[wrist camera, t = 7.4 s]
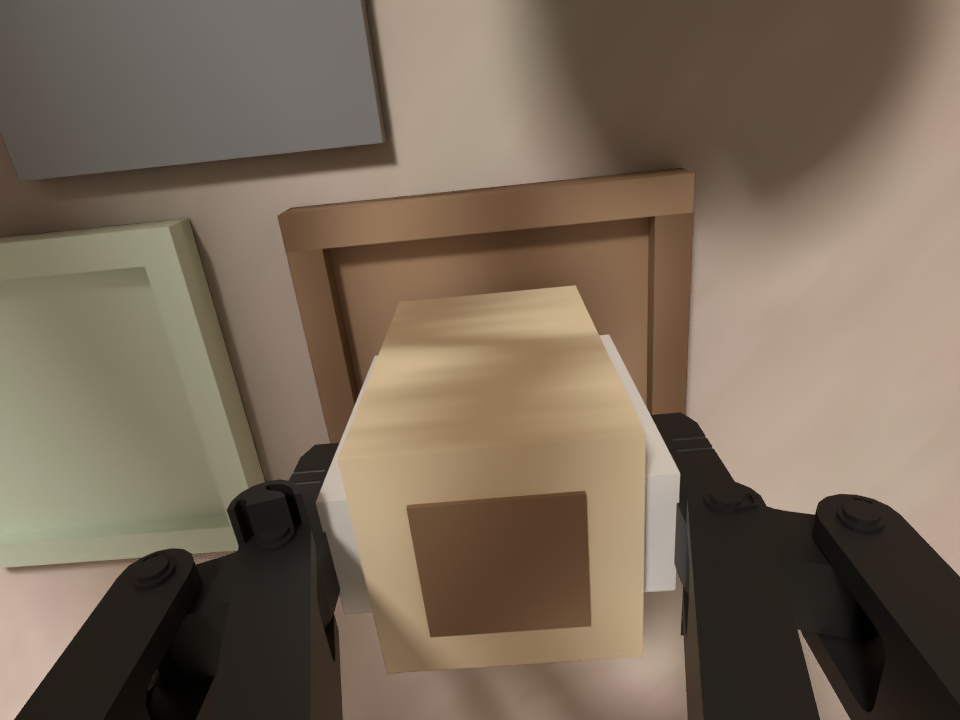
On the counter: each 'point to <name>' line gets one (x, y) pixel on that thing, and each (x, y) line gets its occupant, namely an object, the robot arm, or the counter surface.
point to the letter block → (498, 486)
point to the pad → (181, 82)
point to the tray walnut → (499, 269)
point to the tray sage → (115, 399)
